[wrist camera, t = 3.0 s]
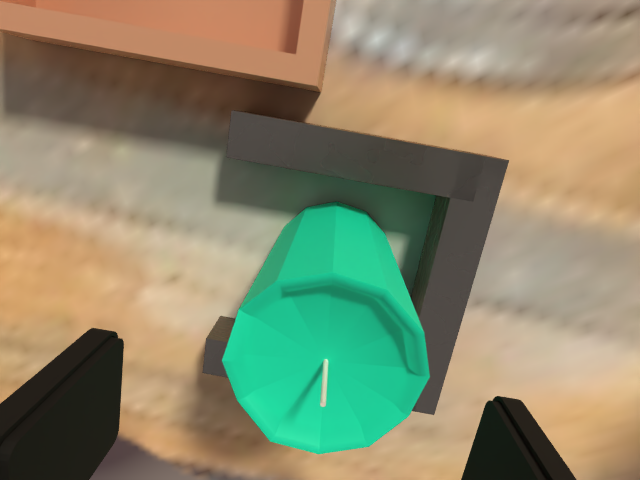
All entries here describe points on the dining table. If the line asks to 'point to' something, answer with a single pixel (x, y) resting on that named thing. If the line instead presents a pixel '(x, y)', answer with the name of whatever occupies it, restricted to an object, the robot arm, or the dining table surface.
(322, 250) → the candle
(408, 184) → the dock
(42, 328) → the dining table surface
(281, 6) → the tray
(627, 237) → the dining table surface
